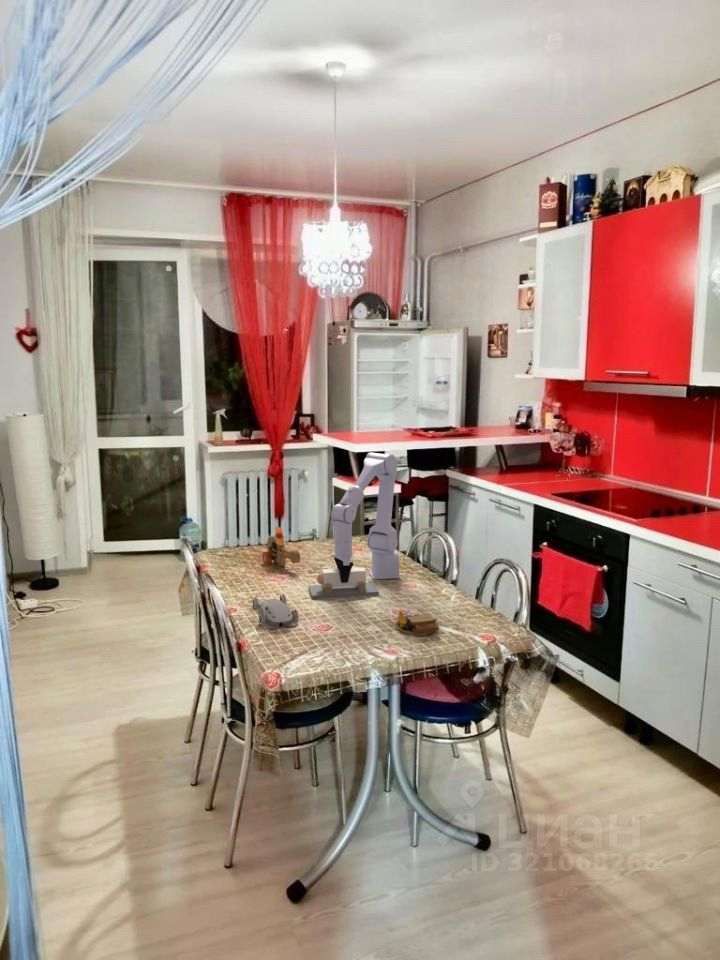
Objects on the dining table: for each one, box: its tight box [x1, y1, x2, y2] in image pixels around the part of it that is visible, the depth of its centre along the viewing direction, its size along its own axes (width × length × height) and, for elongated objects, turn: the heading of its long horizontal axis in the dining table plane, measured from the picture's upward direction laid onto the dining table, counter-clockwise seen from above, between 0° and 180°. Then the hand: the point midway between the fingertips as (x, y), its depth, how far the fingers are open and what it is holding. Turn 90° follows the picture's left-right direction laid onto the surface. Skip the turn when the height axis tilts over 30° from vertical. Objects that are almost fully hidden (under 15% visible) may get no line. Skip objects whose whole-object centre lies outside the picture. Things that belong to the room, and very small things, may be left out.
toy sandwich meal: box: [394, 610, 439, 636], centre depth 208 cm, size 12×14×5 cm
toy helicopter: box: [261, 526, 301, 567], centre depth 267 cm, size 8×21×14 cm, turn 37°
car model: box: [252, 593, 299, 630], centre depth 218 cm, size 11×24×5 cm, turn 17°
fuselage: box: [316, 567, 367, 588], centre depth 239 cm, size 16×4×5 cm, turn 99°
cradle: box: [308, 581, 380, 600], centre depth 239 cm, size 22×10×4 cm, turn 99°
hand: (343, 580), depth 239 cm, fingers closed on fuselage, 4 cm apart
